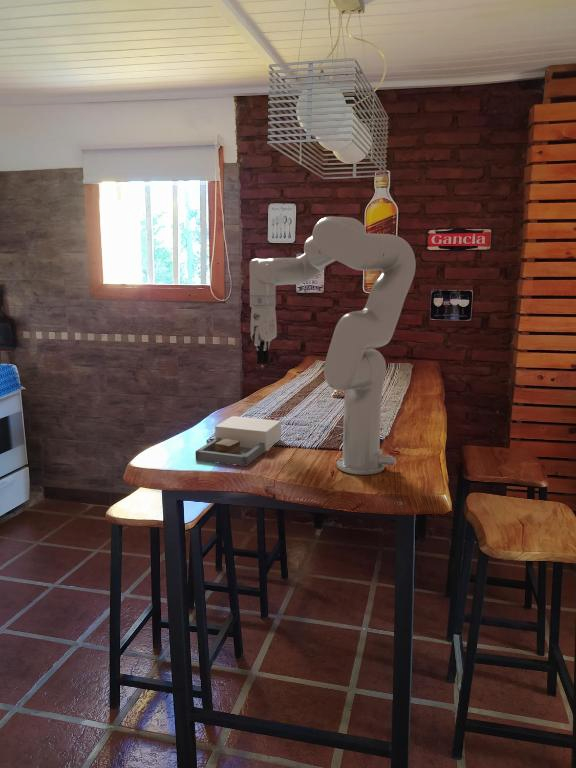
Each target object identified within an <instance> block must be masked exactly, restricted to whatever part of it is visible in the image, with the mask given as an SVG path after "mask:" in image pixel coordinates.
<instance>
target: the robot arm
mask: <svg viewBox="0 0 576 768" xmlns="http://www.w3.org/2000/svg"><path fill="white" fill-rule="evenodd" d="M303 245H304V246H303V252H304V253H303V254H302V255H300V256H298V257H275V258H274V257H272V258H253V259H251V260H250V261H249V307H250V309H251V312H250V339H251V340H252V341H253V343H254V346H256V356H257V357H256V360H257V361H256V362H257V364H261V365H263V364H264V365H267V364H270V346H271V345H270V344H271V342H272V340H274V339H276V337H278V335H277V334H278V328H277V327H278V325H277V311H276V306H277V304H276V303H277V302H276V295H277V293H276V290H277V289H276V286H284V285H285V286H287V285H299V284H300V285H301V284H303V283H306V282H308V281H309V280H311V279H314V278H315V277H317V276H319V275H320V274H321V273H322V272H323V271H324V269H325V268H326V266H328V265H330V264H332V263H334V262H336V261H337V262H339V263H341V264H343V265H345V266H347V267H348V268H350V269H353V270H356V271H362V272H363V271H365V272H366V271H367V272H368V271H371V272H373V271H381V272H380V275H379V277H378V278H377V279H376V280H375V282H374V284H373V285H372V287H371V289H370V292H369V294H368V297H367V301H366V302H365V303H366V304H365V306H364V308H363V309H362V310H355V311H354V310H353V311H351V312H348V313H346V314H344V315H343V316H342V317H341V318H340V319H339V321H337V324H336V325H335V327H334V330H333V331H334V332H333V334H332V338H331V341H330V344H329V348H328V351H327V354H326V357H325V361H324V365H323V376H324V380H325V382H326V385H328V387H330V388H331V389H333V390H335V391H341V392H345V391H346V392H345V395H344V401H343V423H342V424H343V426H342V427H343V428H342V429H343V432H342V433H343V434H342V435H343V436H342V457H340V458H338V459H337V461H336V467H337V469H338V470H340V471H341V472H344V473H347V474H351V475H358V476H359V475H360V476H362V475H364V476H367V475H374V474H379V473H380V472H383V471H384V470H385V468H386V467H385V466H386V465H387V466H394V467H395V466H396V462H397V461H396V460H397V459H396V458H395V457H393V455H385V453H383V449H382V448H380V443H381V442H380V441H381V440H380V439H381V413H382V396H383V389H384V388H383V387H384V384H385V379H386V373H387V364H386V363H387V362H386V360H385V358H384V356H383V354H381V352H380V351H379V350H377V348H381V347H384V346H386V345H387V344H389V343H390V341H391V340H392V339H393V335H394V333H395V329H396V326H397V325H398V321H399V318H400V316H401V313H402V309H403V307H404V302H405V300H406V298H407V297H406V296H407V295H408V293H409V290H410V287H411V285H412V283H413V280H414V277H415V273H416V262H417V261H416V257H415V256H416V255H415V253H414V251H413V248H412V247H411V245H410V244H409V243H408V241H406V240H405V239H404V238H402V237H400V236H398V235H395V234H389V233H368V232H367V230H366V228H365V225H364V224H363V223H362V222H361V221H360V220H358V219H356V218H354V217H350V216H349V217H348V216H347V217H346V216H334V215H333V216H330V215H329V216H325V217H323V218H321V219H319V220H318V221H317V223H316V224H315V225H314V227H313V230H312V234H311V236H310V237H308V238H307V239H306V241H305V242H304V244H303Z"/></svg>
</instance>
